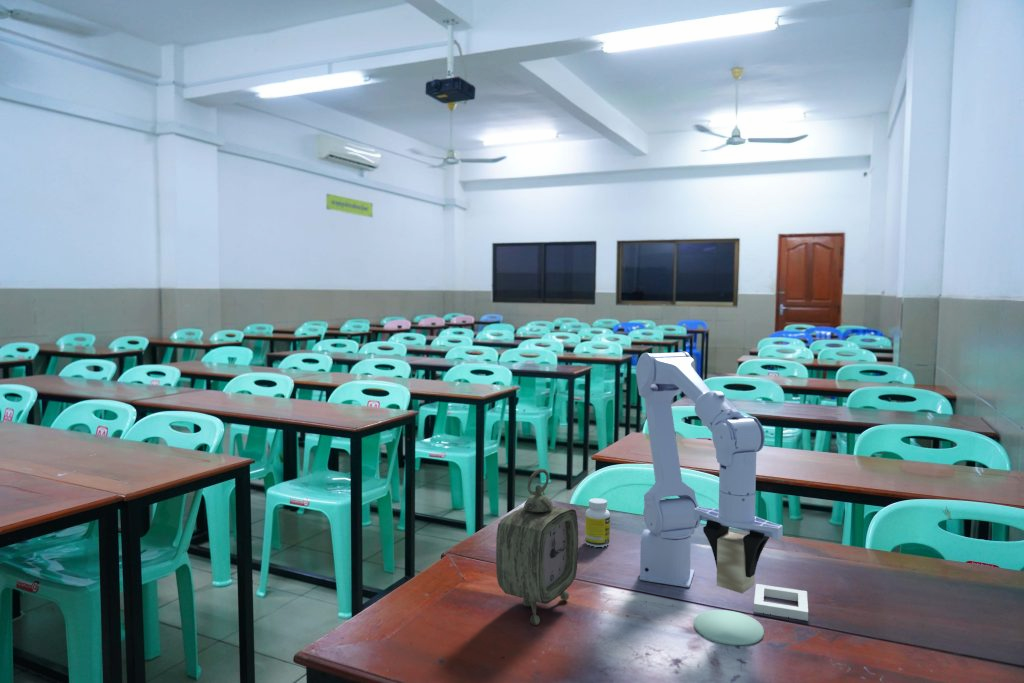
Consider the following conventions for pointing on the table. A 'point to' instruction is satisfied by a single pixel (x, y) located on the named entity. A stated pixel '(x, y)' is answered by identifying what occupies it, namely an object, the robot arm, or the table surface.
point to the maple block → (732, 563)
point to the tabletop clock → (537, 550)
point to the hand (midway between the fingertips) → (735, 571)
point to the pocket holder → (781, 609)
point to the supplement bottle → (597, 523)
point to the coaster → (728, 627)
